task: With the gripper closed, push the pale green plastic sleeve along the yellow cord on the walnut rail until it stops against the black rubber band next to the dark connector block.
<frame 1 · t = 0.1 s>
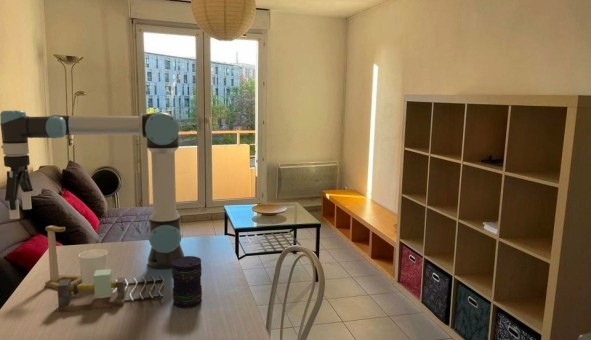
hand: (21, 213, 151), 28 cm above the table, tool pointing down, fingers open, 13 cm apart
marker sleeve: (103, 282, 144), point 7 cm above the table, slide at 0.0 cm
storage jar: (187, 302, 147), on the table
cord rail: (93, 303, 144), on the table
headphone stand: (64, 284, 160), on the table
candle holder: (94, 284, 160), on the table
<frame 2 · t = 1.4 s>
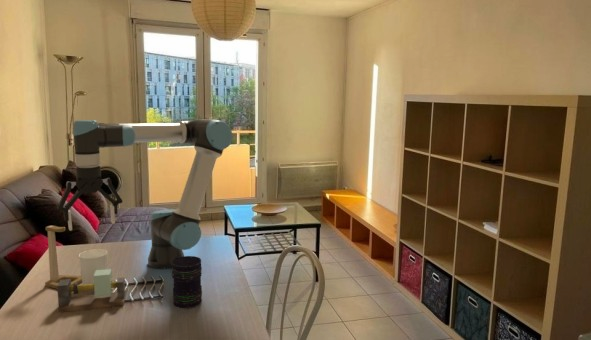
hand: (92, 226, 147), 25 cm above the table, tool pointing down, fingers open, 13 cm apart
nothing on the table moved.
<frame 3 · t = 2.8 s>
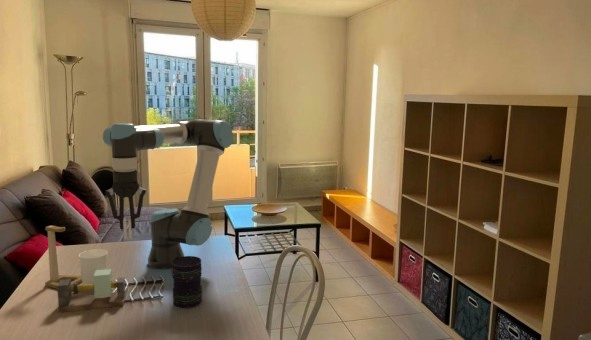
hand: (128, 237, 144), 22 cm above the table, tool pointing down, fingers closed
nothing on the table moved.
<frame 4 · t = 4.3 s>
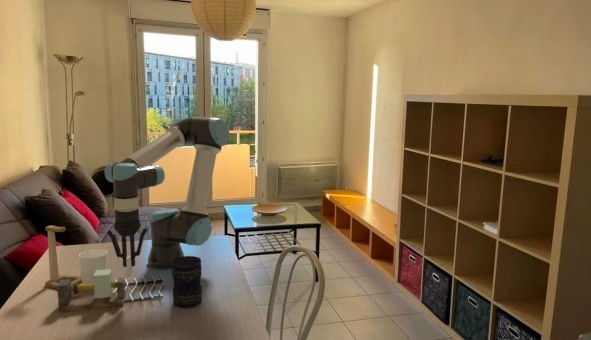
hand: (129, 275, 146), 9 cm above the table, tool pointing down, fingers closed
nothing on the table moved.
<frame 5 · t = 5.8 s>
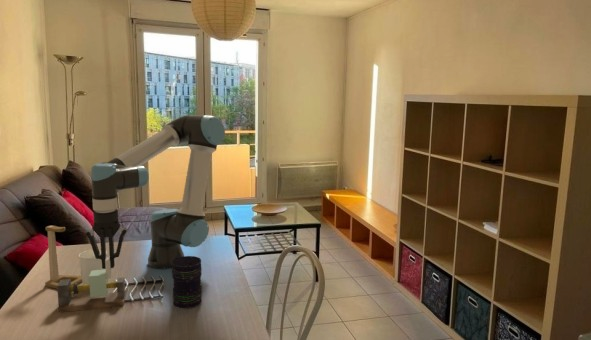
hand: (108, 276, 144), 9 cm above the table, tool pointing down, fingers closed
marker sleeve: (98, 283, 144), point 7 cm above the table, slide at 1.4 cm, touching gripper
everything else where it was.
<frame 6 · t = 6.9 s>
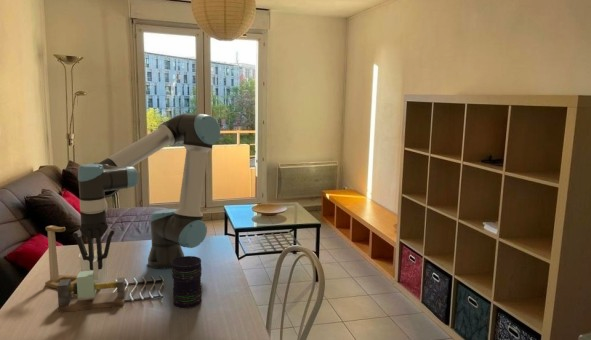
hand: (96, 278, 143), 9 cm above the table, tool pointing down, fingers closed
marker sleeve: (86, 284, 143), point 7 cm above the table, slide at 5.2 cm, touching gripper
everything else where it was.
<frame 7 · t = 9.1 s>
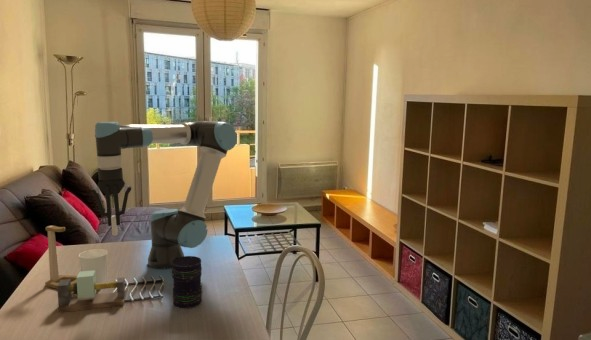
hand: (115, 234, 147), 23 cm above the table, tool pointing down, fingers closed
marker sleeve: (86, 284, 143), point 7 cm above the table, slide at 5.2 cm
everything else where it was.
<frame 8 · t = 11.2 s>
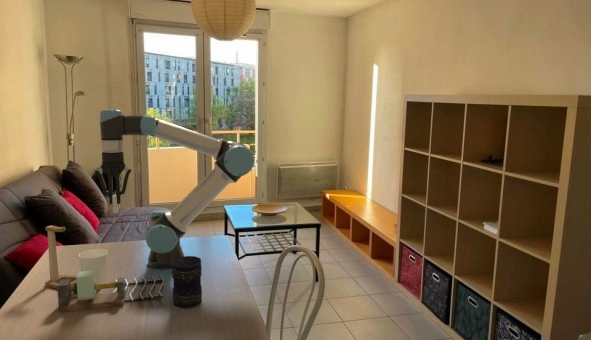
hand: (115, 212, 162), 26 cm above the table, tool pointing down, fingers closed
nothing on the table moved.
at the end: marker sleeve slide at 5.2 cm; candle holder moved 0.2 cm from its start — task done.
